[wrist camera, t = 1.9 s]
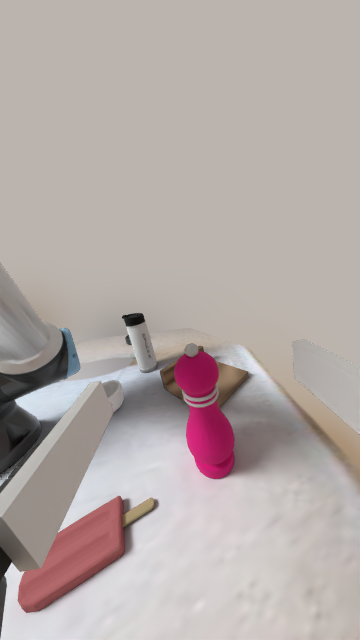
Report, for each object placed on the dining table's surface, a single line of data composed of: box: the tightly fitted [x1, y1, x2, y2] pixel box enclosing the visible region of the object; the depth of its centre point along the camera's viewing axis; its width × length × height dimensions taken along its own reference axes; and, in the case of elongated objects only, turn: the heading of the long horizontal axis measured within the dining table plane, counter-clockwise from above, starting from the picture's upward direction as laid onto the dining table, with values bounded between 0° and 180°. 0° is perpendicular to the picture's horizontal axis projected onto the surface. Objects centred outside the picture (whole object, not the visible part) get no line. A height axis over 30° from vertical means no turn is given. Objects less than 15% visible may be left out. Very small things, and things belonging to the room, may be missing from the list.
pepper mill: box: [174, 343, 234, 479], centre depth 24 cm, size 7×7×20 cm
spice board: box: [160, 346, 249, 408], centre depth 43 cm, size 16×16×6 cm
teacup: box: [102, 380, 124, 413], centre depth 41 cm, size 10×8×5 cm
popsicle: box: [18, 496, 154, 613], centre depth 20 cm, size 5×2×15 cm
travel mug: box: [122, 313, 157, 373], centre depth 55 cm, size 6×7×20 cm
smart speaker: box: [125, 335, 132, 345], centre depth 87 cm, size 9×9×4 cm
